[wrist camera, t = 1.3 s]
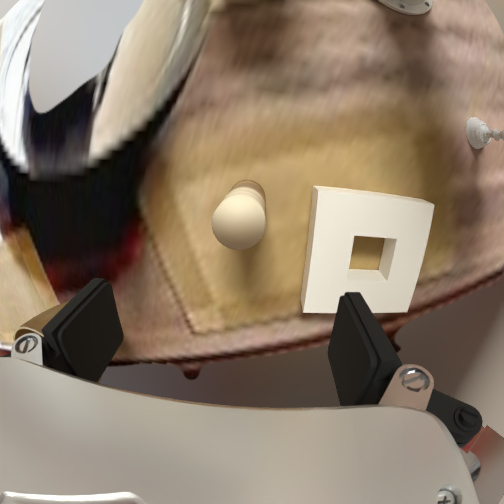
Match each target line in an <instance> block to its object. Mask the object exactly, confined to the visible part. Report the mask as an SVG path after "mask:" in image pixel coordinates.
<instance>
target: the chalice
mask: <svg viewBox="0 0 504 504" xmlns="http://www.w3.org/2000/svg"><path fill="white" fill-rule="evenodd" d="M466 135H467V139H468V141H469V143H470V144H471V145H472V147H474V148H476V149H480V148H482V147H484V146H486V145H488V143H489V142H490V139H491V137H493V138H494V139H495V140H496V141H499V139H500V138H501V139H503V140H504V130H503V131H502V132H499V131H498V130H497V129H494V130H493V131H490V129H489V127H488V126H487V125H486V123H484V122H482V121H481V120H479V119H478V118H476V117H472V118H470V119H469V120H468V121H467V124H466Z"/></svg>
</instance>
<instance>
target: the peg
mask: <svg viewBox="0 0 504 504" xmlns="http://www.w3.org/2000/svg"><path fill="white" fill-rule="evenodd" d="M212 229H213V233H214V235H215V237H216V238H217V240H218V241H219V242H220V243H221V244H223V245H224V246H226V247H228V248H230V249H234V250H245V249H248V248H251V247H253V246H254V245H256V244H257V243H258V242H259V241H260V240H261V238H262V236H263V234H264V231H265V193H264V190H263V188H262V187H261V186H260V185H259V184H258V183H256V182H254V181H251V180H243V181H240V182H238V183H236V184H235V185H234V186H233V188H232V189H231V190H230V192H229V193H228V194H227V196H226V197H225V198H224V200H223V201H222V202H221V204H220V205H219V207H218V208H217V209H216V211H215V213H214V215H213V218H212Z"/></svg>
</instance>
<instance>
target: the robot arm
mask: <svg viewBox="0 0 504 504" xmlns="http://www.w3.org/2000/svg"><path fill="white" fill-rule="evenodd" d="M378 1H379V2H381V3H382V4H384V5H385V6H387V7H389V8H391V9H393V10H395V11H398V12H400V13H404V14H408V15H421V14H424V13H426V12H427V11H429V10H430V8H431V7H432V4H433V0H378ZM41 331H42V333H43V335H44V337H43V338H42V339H41V337H40V336H39V335H38V334H35V333H28V334H25V335H22V336H20V337H19V338H18V339H16V340H15V342H14V343H13V345H12V351H11V354H8V355H5V356H1V357H0V504H498V503H499V501H500V500H501V499H502V497H503V495H504V438H503V437H502V436H500V435H499V434H498V433H497V432H496V431H494V430H493V429H492V428H490V427H489V426H488V425H487V426H486V427H485V428H484V427H483V426H482V417H481V415H480V413H479V412H478V410H477V409H476V408H474V407H472V406H471V405H468V404H466V403H464V402H461V401H459V400H457V399H454V398H452V397H450V396H448V395H445V394H443V393H441V392H439V391H436V390H434V389H433V386H434V380H433V377H432V375H431V374H430V373H429V372H428V371H427V370H426V369H424V368H423V367H421V366H417V365H413V364H407V365H402V364H401V361H400V359H399V357H398V355H397V354H396V352H395V350H394V348H393V346H392V344H391V343H390V341H389V339H388V337H387V335H386V334H385V332H384V330H383V328H382V327H381V325H380V324H378V322H377V320H376V318H375V317H374V315H373V313H372V311H371V310H370V308H369V306H368V305H367V303H366V301H365V300H364V298H363V296H362V295H361V293H360V292H346V293H345V294H344V296H340V298H339V303H338V308H337V312H336V317H335V322H334V326H333V330H332V335H331V339H330V343H329V347H328V358H329V362H330V365H331V369H332V373H333V377H334V380H335V384H336V389H337V393H338V397H339V401H340V405H341V406H337V407H315V408H261V407H241V406H227V405H216V404H207V403H197V402H190V401H183V400H176V399H170V398H163V397H158V396H153V395H147V394H142V393H138V392H133V391H129V390H124V389H120V388H116V387H112V386H108V385H104V384H100V383H98V381H99V379H100V378H101V376H102V374H103V372H104V371H105V369H106V367H107V366H108V364H109V362H110V361H111V359H112V358H113V356H114V354H115V353H116V351H117V349H118V348H119V346H120V345H121V343H122V341H123V331H122V328H121V324H120V320H119V316H118V312H117V308H116V304H115V299H114V295H113V290H112V286H111V284H110V283H108V281H107V280H106V279H99V278H94V279H93V280H91V281H90V282H89V283H88V284H87V285H86V286H85V287H84V288H83V289H82V290H81V291H80V292H79V293H77V294H76V295H75V296H74V297H73V298H72V299H71V300H70V301H69V302H68V303H67V304H66V305H65V306H64V307H63V308H62V309H61V310H60V311H59V312H58V313H57V314H56V315H55V316H54V317H53V318H52V319H51V320H50V321H49V322H48V323H47V324H46V325H45V326H44V327H43V328H42V329H41Z"/></svg>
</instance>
